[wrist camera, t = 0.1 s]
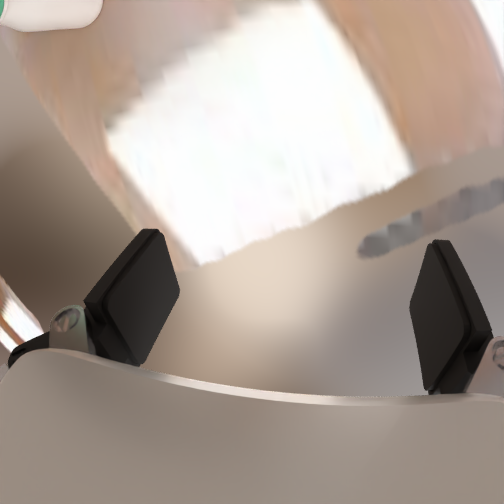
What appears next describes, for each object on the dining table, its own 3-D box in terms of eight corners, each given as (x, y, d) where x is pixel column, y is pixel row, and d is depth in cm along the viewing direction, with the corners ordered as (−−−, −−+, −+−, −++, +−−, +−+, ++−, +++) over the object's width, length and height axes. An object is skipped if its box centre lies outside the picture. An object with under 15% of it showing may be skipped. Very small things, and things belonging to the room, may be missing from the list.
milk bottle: (110, -14, 26) (8, -22, 10) (97, 28, 30) (-7, 40, 15) (77, -12, 25) (-21, -10, 10) (66, 28, 30) (-32, 44, 14)
